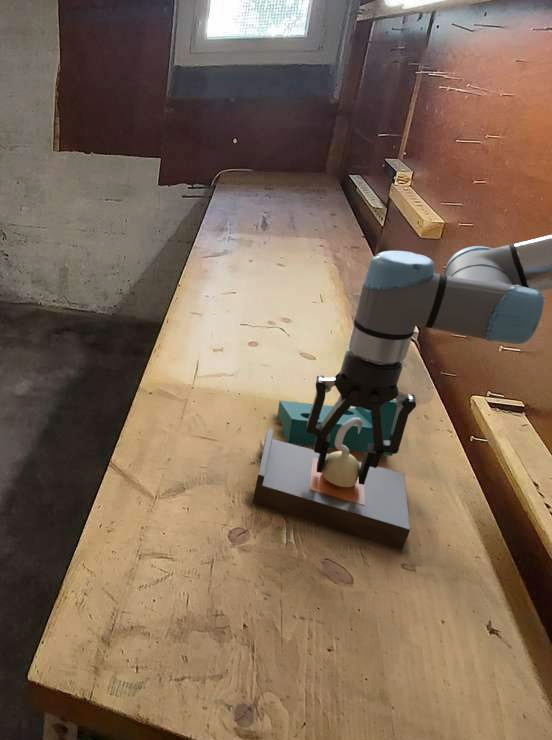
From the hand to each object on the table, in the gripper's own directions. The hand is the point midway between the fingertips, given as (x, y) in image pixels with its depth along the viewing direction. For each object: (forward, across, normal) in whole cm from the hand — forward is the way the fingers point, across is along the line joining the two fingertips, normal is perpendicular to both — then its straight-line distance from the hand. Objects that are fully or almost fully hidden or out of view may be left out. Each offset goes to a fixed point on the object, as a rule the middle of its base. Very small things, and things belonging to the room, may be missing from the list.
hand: (340, 473), depth 94 cm
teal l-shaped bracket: (+6, +1, -20) cm, 21 cm away
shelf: (+6, +1, 0) cm, 6 cm away
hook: (+1, 0, 0) cm, 1 cm away
